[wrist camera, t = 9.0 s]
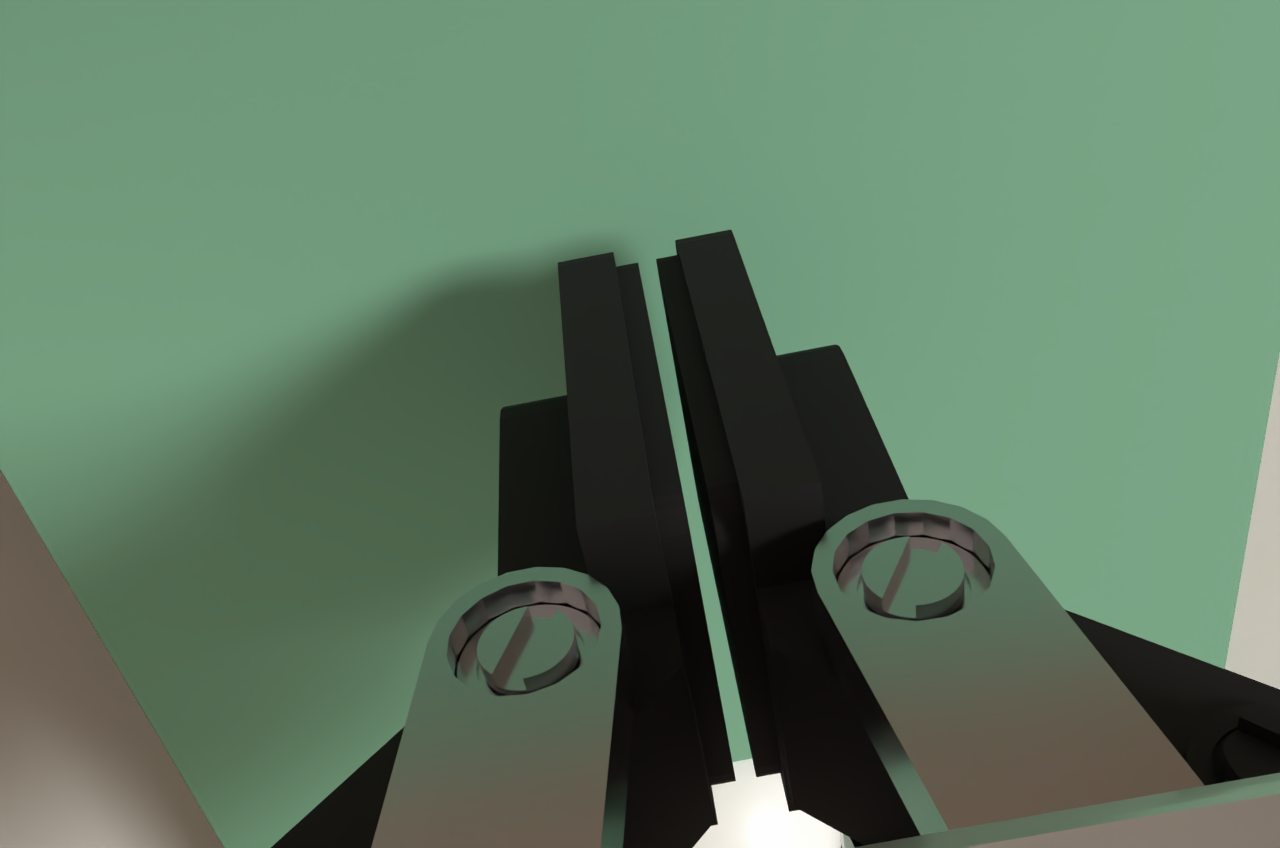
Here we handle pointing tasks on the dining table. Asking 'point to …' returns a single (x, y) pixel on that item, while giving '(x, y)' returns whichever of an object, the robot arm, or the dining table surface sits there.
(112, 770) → the dining table surface
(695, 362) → the robot arm
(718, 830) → the ball
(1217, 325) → the green
